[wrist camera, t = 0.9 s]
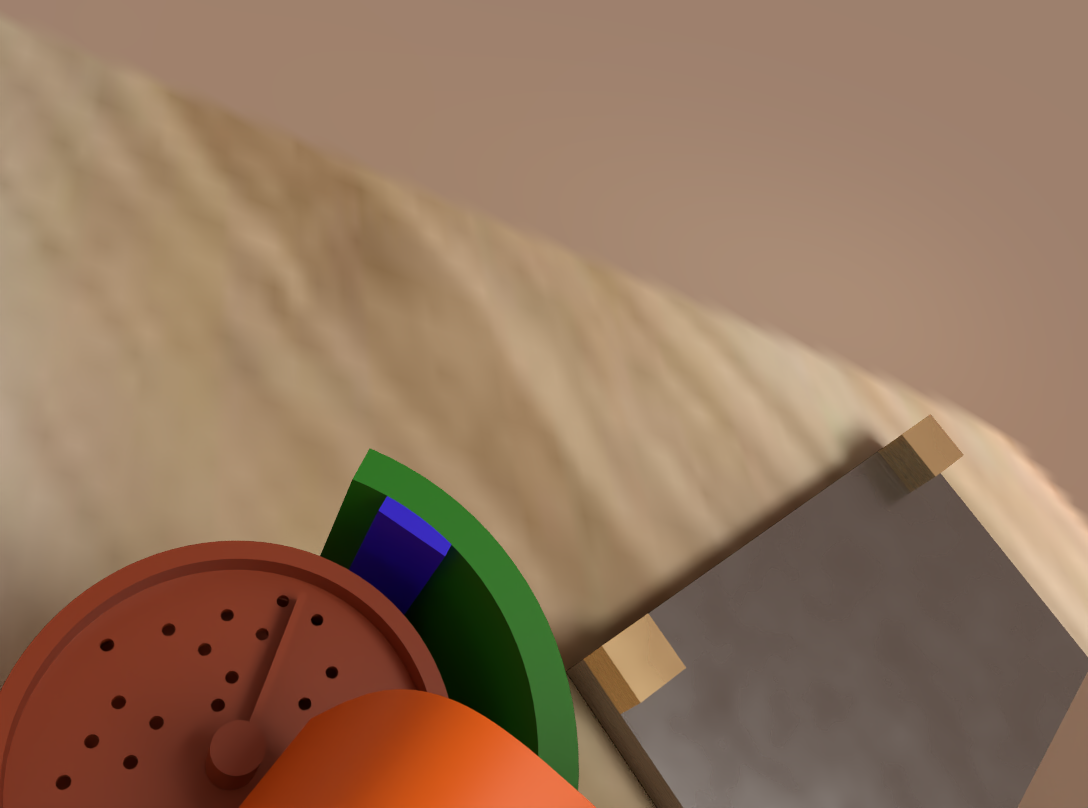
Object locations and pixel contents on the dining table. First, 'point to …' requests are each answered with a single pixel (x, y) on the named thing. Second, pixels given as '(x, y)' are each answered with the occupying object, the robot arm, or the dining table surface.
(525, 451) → the dining table surface
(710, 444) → the dining table surface
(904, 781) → the plate
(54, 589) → the dining table surface
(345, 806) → the motor
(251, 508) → the dining table surface
